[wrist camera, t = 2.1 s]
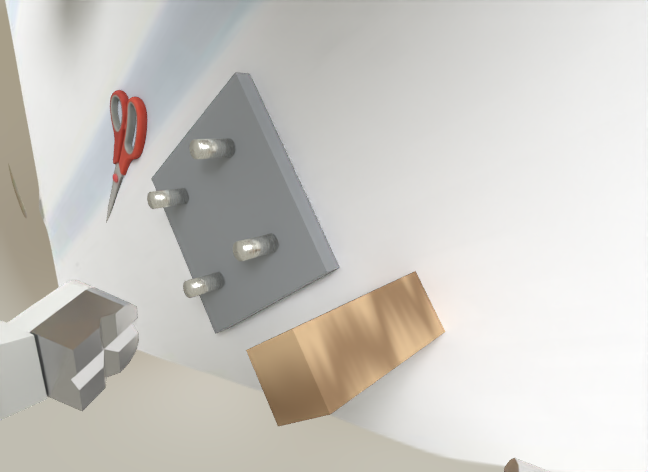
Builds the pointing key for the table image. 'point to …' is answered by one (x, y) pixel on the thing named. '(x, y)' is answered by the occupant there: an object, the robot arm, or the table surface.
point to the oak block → (344, 350)
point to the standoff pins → (180, 196)
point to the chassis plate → (243, 209)
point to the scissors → (126, 136)
